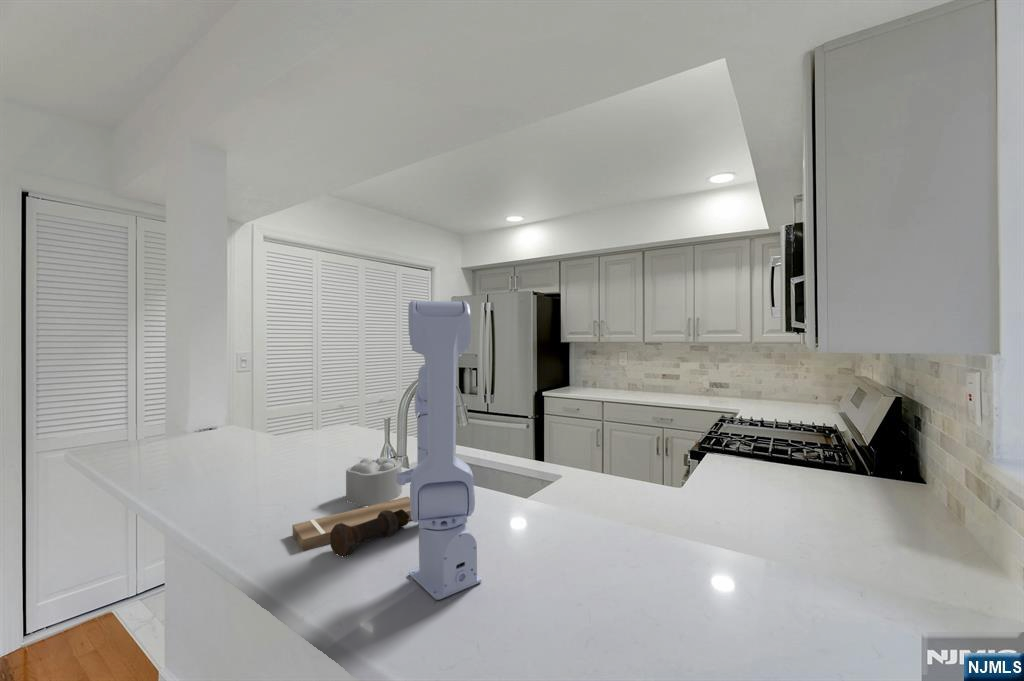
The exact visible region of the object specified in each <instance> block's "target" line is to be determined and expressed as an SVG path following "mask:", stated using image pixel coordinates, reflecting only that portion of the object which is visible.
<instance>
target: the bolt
mask: <svg viewBox="0 0 1024 681" xmlns="http://www.w3.org/2000/svg"><path fill="white" fill-rule="evenodd" d="M408 519H409V514H408V513H406V512H405V511H404V510H402V509H401V510H398V511H395V512H392V511H389V510H384V511H381V512H380V514H379V515H378V517H377V518H375V519H373V520H370V521H367V522H364V523H362V524H359V525H356V526H351V527H350V526H348V525H345V524H343V523H339V524H336V525H335V526H334V527H333V529H332V531H331V533H330V543H329V544H330V547H331V549H332V552H333V553H334V554H335V555H336V554H338V555H339V556H338V555H337V556H338V557H340V556H343V557H342V558H346V557H348V556H350V554H352V552H353V551H354V547H356V546H358V545H359V544H362V543H364V542H366V541H370V540H372V539H374V538H377V537H380V536H383V535H384V536H383V537H386V536H388V537H391V536H394V535H395V534H396V532H397V531H398V529H400V528H403V527H405V526H406V525H408V524H409V522H410V521H409V520H408ZM388 537H387V538H388ZM347 555H348V556H347ZM345 556H346V557H345Z"/></svg>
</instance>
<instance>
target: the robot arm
mask: <svg viewBox="0 0 1024 681" xmlns="http://www.w3.org/2000/svg"><path fill="white" fill-rule="evenodd" d="M470 306H471V305H470V304H469V303H468V302H467V301H466V300H461V301H446V300H445V301H443V300H441V301H439V300H437V301H435V300H433V301H432V300H416V299H412V300H411V301H410V302H409V303H408V309H407V310H408V312H407V313H408V319H407V320H408V336H409V344H410V346H411V350H412V352H415V353H417V354H420V355H422V356H423V357H424V364H422V365H421V366H420V367H419V369H418V374H417V386H416V388H415V393H414V414H415V417H416V418H417V421H416V424H417V426H416V428H417V431H416V432H417V434H416V437H417V439H416V440H417V442H416V443H417V444H416V446H417V449H416V450H417V453H416V454H417V456H416V457H417V458H416V460H417V463H416V464H417V465H416V466H415V467H413V468H410V469H409V470H405V471H402V473H397V484H399V485H401V486H402V487H403V486H406V484H409V483H410V484H409V498H410V516H411V519H412V520H411V521H413V522H414V523H418V567H416V568H412V569H411V570H409V571H408V574H409V576H410V577H411V578H412V579H413V580H414V581H416V583H418V585H420V586H421V587H422V588H423V589H424V590H425V591H426V592H427V593H428V594H429V595H431V597H433V598H434V600H436V601H439V600H442V599H444V598H445V599H446V598H447V597H449V596H452V595H454V594H456V593H459V592H461V591H463V590H465V589H469V588H471V587H473V586H476V585H477V584H480V583H482V580H483V579H482V577H481V576H480V575H478V550H477V549H478V546H477V541H476V539H475V537H474V535H472V533H470V531H469V530H468V527H467V525H466V524H467V523H468V517H471V516H472V514H473V513H474V511H475V505H476V503H475V502H476V499H475V498H476V497H475V495H476V494H475V487H474V474H473V471H472V469H471V467H470V465H468V463H466V462H465V461H463V460H462V459H460V458H459V457H458V456H457V455H456V454H457V451H456V447H457V446H456V444H457V443H456V441H457V437H456V436H457V431H456V430H457V428H456V427H457V412H456V411H457V367H458V362H459V358H460V355H461V354H464V353H466V352H468V351H469V350H470V345H471V340H472V339H471V334H472V333H471V332H472V330H471V329H472V325H471V324H472V319H471V318H472V315H471V307H470Z"/></svg>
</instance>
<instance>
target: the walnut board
mask: <svg viewBox="0 0 1024 681" xmlns="http://www.w3.org/2000/svg"><path fill="white" fill-rule="evenodd" d="M401 509H402V510H404V511H405V512H406V513H408V514H409V519H408V520H409V522H410V521H413V520H412V519H411V516H410V496H406V497H401V498H395V499H393V500H391V501H388V502H384V503H380V504H376V505H372V506H368V507H360V508H356V509H352V510H348V511H343V512H339V513H336V514H332V515H328V516H324V517H320V518H316V519H314V518H312V519H310V520H306V521H303V522H299V523H295V524H292V528H291V529H292V537H293V538H294V540H295V541H296V543H297V544H298V546H299V547H300V548H301V550H302V551H303V552H304V551H307V550H310V549H314V548H318V547H321V546H324V545H325V546H326V545H328V544H327V543H329V542H330V533H331V531H332V529H333V527H334V526H335V525H336V524H339V523H343V524H345V525H348V526H350V527H351V526H356V525H359V524H362V523H364V522H367V521H370V520H373V519H375V518H377V517H378V515H379V514H380V512H381V511H384V510H389V511H392V512H395V511H398V510H401ZM329 544H330V543H329Z"/></svg>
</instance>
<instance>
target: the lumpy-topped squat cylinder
mask: <svg viewBox="0 0 1024 681" xmlns="http://www.w3.org/2000/svg"><path fill="white" fill-rule="evenodd" d="M402 467H403V466H402V462H401V461H400V460H398V459H397V460H396V459H395V458H392V457H391V458H389V457H387V456H380V457H378V458H376V459H371V458H369V457H364V458H362V459H361V460H360V462H359V463H356V464H355V465H353V466H351V467H347V468H346V470H345V501H346V502H347V501H348V502H347V503H349V502H352V503H351V504H354V503H356V504H355V505H357V504H358V505H357V506H359V505H360V506H359V507H362V506H372V505H376V504H380V503H384V502H388V501H392V500H396V499H398V497H400V496H401V494H402V491H403V490H402V489H403V485H402V486H401V485H399V484H397V473H402V472H403V470H402V469H403V468H402Z"/></svg>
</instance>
